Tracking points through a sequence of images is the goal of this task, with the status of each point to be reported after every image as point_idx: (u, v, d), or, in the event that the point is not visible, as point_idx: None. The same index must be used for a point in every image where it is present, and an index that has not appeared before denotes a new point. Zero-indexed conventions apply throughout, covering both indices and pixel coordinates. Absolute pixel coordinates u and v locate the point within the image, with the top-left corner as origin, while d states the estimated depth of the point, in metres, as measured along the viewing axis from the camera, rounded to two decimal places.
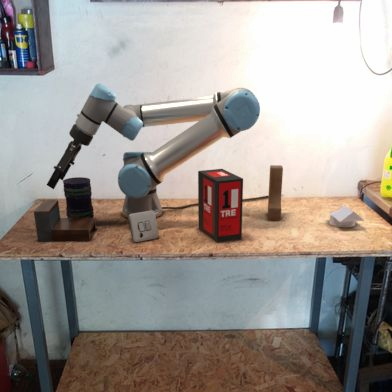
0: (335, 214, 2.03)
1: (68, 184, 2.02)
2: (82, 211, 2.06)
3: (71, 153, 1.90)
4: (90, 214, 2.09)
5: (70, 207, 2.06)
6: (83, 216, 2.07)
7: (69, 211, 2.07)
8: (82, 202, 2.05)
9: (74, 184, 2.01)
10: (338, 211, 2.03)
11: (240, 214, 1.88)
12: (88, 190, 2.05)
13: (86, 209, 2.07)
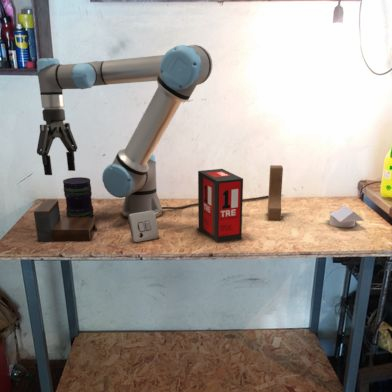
0: (335, 214, 2.03)
1: (68, 184, 2.02)
2: (82, 211, 2.06)
3: (44, 132, 1.94)
4: (90, 214, 2.09)
5: (70, 207, 2.06)
6: (83, 216, 2.07)
7: (69, 211, 2.07)
8: (82, 202, 2.05)
9: (74, 184, 2.01)
10: (338, 211, 2.03)
11: (240, 214, 1.88)
12: (88, 190, 2.05)
13: (86, 209, 2.07)
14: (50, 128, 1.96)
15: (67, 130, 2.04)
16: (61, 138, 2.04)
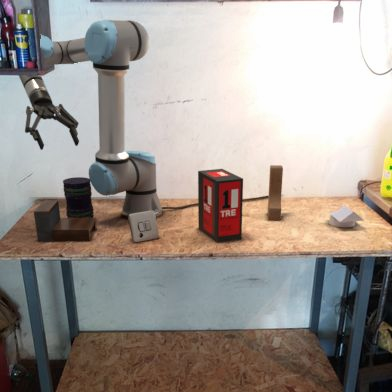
0: (335, 214, 2.03)
1: (68, 184, 2.02)
2: (82, 211, 2.06)
3: (27, 112, 2.05)
4: (90, 214, 2.09)
5: (70, 207, 2.06)
6: (83, 216, 2.07)
7: (69, 211, 2.07)
8: (82, 202, 2.05)
9: (74, 184, 2.01)
10: (338, 211, 2.03)
11: (240, 214, 1.88)
12: (88, 190, 2.05)
13: (86, 209, 2.07)
14: (35, 109, 2.07)
15: (61, 110, 2.12)
16: (57, 118, 2.11)
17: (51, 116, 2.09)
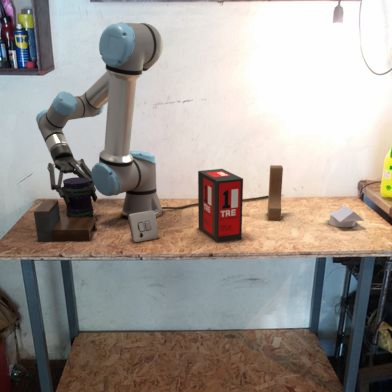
0: (335, 214, 2.03)
1: (68, 184, 2.02)
2: (82, 211, 2.06)
3: (50, 169, 2.05)
4: (90, 214, 2.09)
5: (70, 207, 2.06)
6: (83, 216, 2.07)
7: (69, 211, 2.07)
8: (82, 202, 2.05)
9: (74, 184, 2.01)
10: (338, 211, 2.03)
11: (240, 214, 1.88)
12: (88, 190, 2.05)
13: (86, 209, 2.07)
14: (56, 164, 2.07)
15: (82, 165, 2.11)
16: (76, 173, 2.10)
17: (72, 170, 2.09)
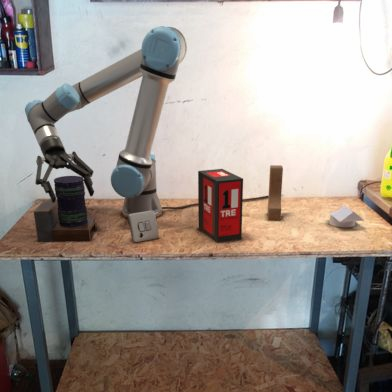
0: (335, 214, 2.03)
1: (59, 183, 1.86)
2: (75, 212, 1.90)
3: (38, 163, 1.89)
4: (83, 216, 1.93)
5: (62, 208, 1.90)
6: (76, 218, 1.91)
7: (61, 212, 1.91)
8: (74, 202, 1.89)
9: (66, 183, 1.85)
10: (338, 211, 2.03)
11: (240, 214, 1.88)
12: (81, 190, 1.89)
13: (78, 211, 1.91)
14: (46, 158, 1.90)
15: (75, 158, 1.95)
16: (70, 167, 1.94)
17: (64, 165, 1.93)
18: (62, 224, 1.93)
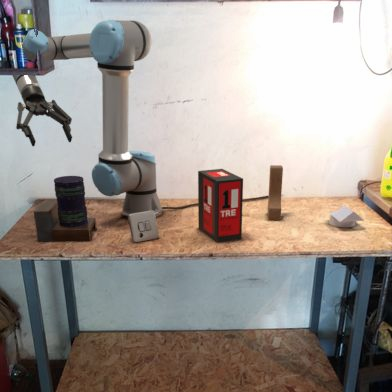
0: (335, 214, 2.03)
1: (59, 183, 1.86)
2: (75, 212, 1.90)
3: (19, 109, 2.00)
4: (83, 216, 1.93)
5: (62, 208, 1.90)
6: (76, 218, 1.91)
7: (61, 212, 1.91)
8: (74, 202, 1.89)
9: (66, 183, 1.85)
10: (338, 211, 2.03)
11: (240, 214, 1.88)
12: (81, 190, 1.89)
13: (78, 211, 1.91)
14: (27, 105, 2.02)
15: (54, 106, 2.06)
16: (49, 115, 2.06)
17: (43, 112, 2.04)
18: (62, 224, 1.93)
